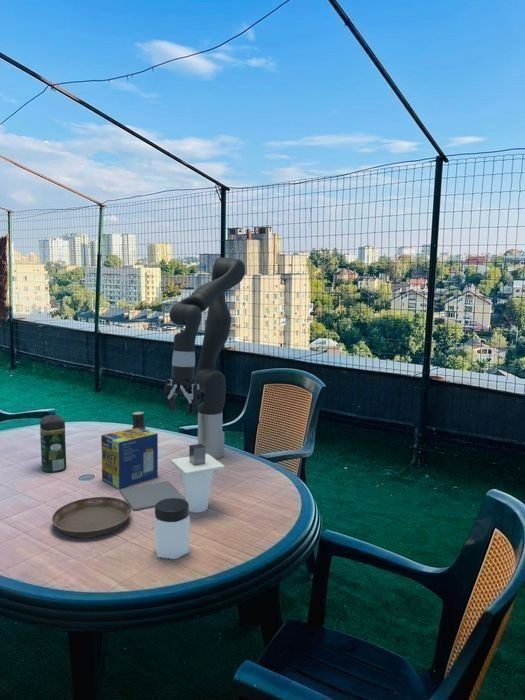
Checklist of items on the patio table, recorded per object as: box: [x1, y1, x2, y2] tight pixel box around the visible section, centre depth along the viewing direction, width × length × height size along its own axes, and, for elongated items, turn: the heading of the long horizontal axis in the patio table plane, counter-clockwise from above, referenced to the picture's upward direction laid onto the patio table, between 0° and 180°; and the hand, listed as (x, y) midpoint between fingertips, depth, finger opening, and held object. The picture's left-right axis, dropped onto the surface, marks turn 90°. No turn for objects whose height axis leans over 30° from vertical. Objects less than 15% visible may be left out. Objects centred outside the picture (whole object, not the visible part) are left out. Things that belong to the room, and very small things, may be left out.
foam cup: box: [180, 471, 215, 513], centre depth 154 cm, size 10×9×13 cm
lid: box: [170, 443, 226, 476], centre depth 153 cm, size 12×12×6 cm
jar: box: [154, 498, 191, 560], centre depth 130 cm, size 9×8×12 cm
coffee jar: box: [39, 414, 67, 473], centre depth 183 cm, size 10×8×19 cm
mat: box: [118, 480, 185, 512], centre depth 163 cm, size 16×16×1 cm
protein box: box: [100, 427, 159, 490], centre depth 175 cm, size 10×15×16 cm
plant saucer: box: [51, 496, 133, 538], centre depth 144 cm, size 21×21×3 cm
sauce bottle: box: [131, 411, 147, 429], centre depth 185 cm, size 6×6×20 cm
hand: (181, 412), depth 177 cm, fingers open, 8 cm apart
